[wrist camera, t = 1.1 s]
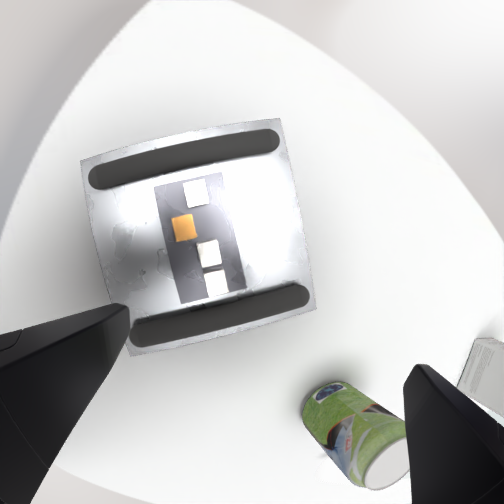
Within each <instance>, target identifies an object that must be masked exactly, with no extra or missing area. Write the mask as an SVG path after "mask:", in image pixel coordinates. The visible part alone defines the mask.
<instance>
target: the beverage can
mask: <svg viewBox="0 0 504 504" xmlns="http://www.w3.org/2000/svg"><path fill="white" fill-rule="evenodd" d="M302 418H303V423H304V425H305V427H306V428H307V430H308V431H309V432H310V433H311V435H312V436H313V437H314V438H315V440H316V441H317V442H318V443H319V445H320V446H321V447H322V448H323V450H324V451H325V452H326V453H327V454H328V456H329V457H330V458H331V459H332V460H333V461H334V463H335V464H336V465H337V466H338V468H339V469H340V470H341V471H342V472H343V473H344V475H345V476H346V477H347V478H348V479H349V480H350V481H351V482H352V483H353V484H354V485H356V486H359V487H364V488H368V489H370V490H374V491H376V490H382V489H385V488H387V487H389V486H391V485H393V484H395V483H396V482H398V481H399V480H400V479H401V478H402V477H404V476H405V475H406V474H407V473H408V472H409V470H410V467H409V457H408V448H407V440H406V431H405V421H403V420H402V419H400V418H398V417H397V416H395V415H394V414H392V413H391V412H389V411H388V410H386V409H385V408H383V407H382V406H380V405H379V404H377V403H376V402H374V401H373V400H371V399H370V398H368V397H367V396H366V395H364V394H363V393H361V392H360V391H358V390H357V389H355V388H354V387H352V386H351V385H349V384H347V383H344V382H333V383H330V384H327V385H325V386H323V387H321V388H319V389H318V390H317V391H316V392H314V393H313V394H312V396H311V397H310V398H309V399H308V401H307V402H306V404H305V406H304V409H303V414H302Z"/></svg>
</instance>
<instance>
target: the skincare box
mask: <svg viewBox="0 0 504 504" xmlns="http://www.w3.org/2000/svg"><path fill="white" fill-rule="evenodd" d="M457 389H458V390H460V391H461V392H462V393H464V394H466V395H467V396H469V397H471V398H472V399H474V400H476V401H477V402H479V403H481V404H482V405H484V406H486V407H487V408H489V409H490V410H492V411H494V412H495V413H497V414H499V415H500V416H502V417H504V343H503V342H501V341H498V340H496V339H493V338H486V339H475V341H474V344H473V347H472V350H471V353H470V356H469V359H468V361H467V364H466V367H465V369H464V372H463V374H462V377H461V379H460V382H459V384H458V386H457Z"/></svg>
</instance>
